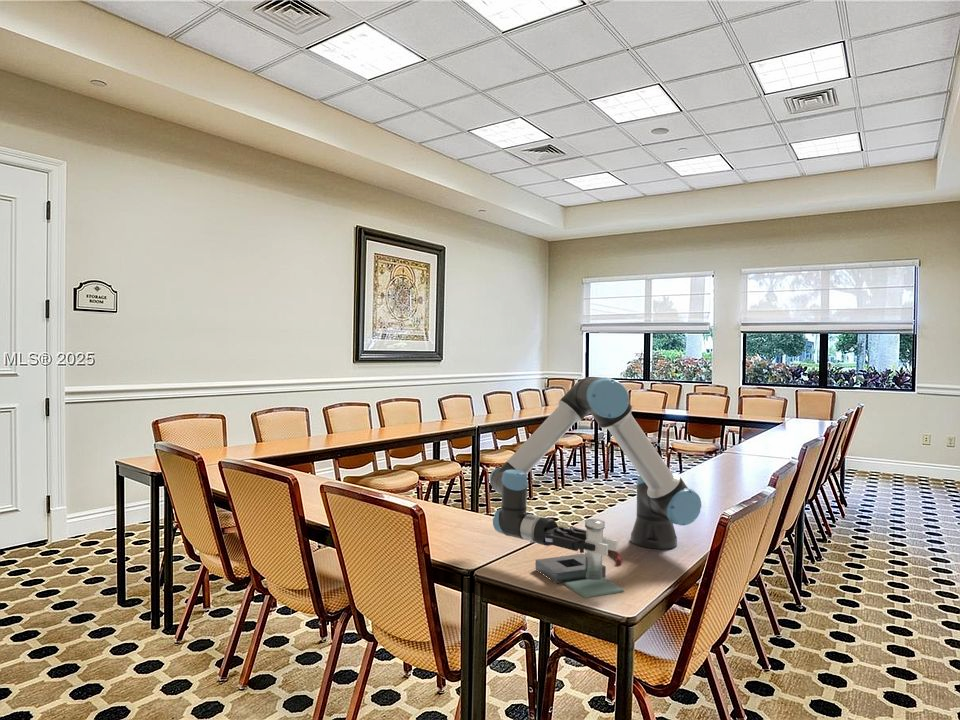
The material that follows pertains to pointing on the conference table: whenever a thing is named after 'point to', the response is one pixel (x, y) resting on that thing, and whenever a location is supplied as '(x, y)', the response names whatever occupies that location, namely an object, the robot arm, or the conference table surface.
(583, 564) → the socket plate
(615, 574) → the conference table surface
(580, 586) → the rubber mat
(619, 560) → the pliers
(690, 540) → the conference table surface
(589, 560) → the steel pin
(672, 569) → the conference table surface
